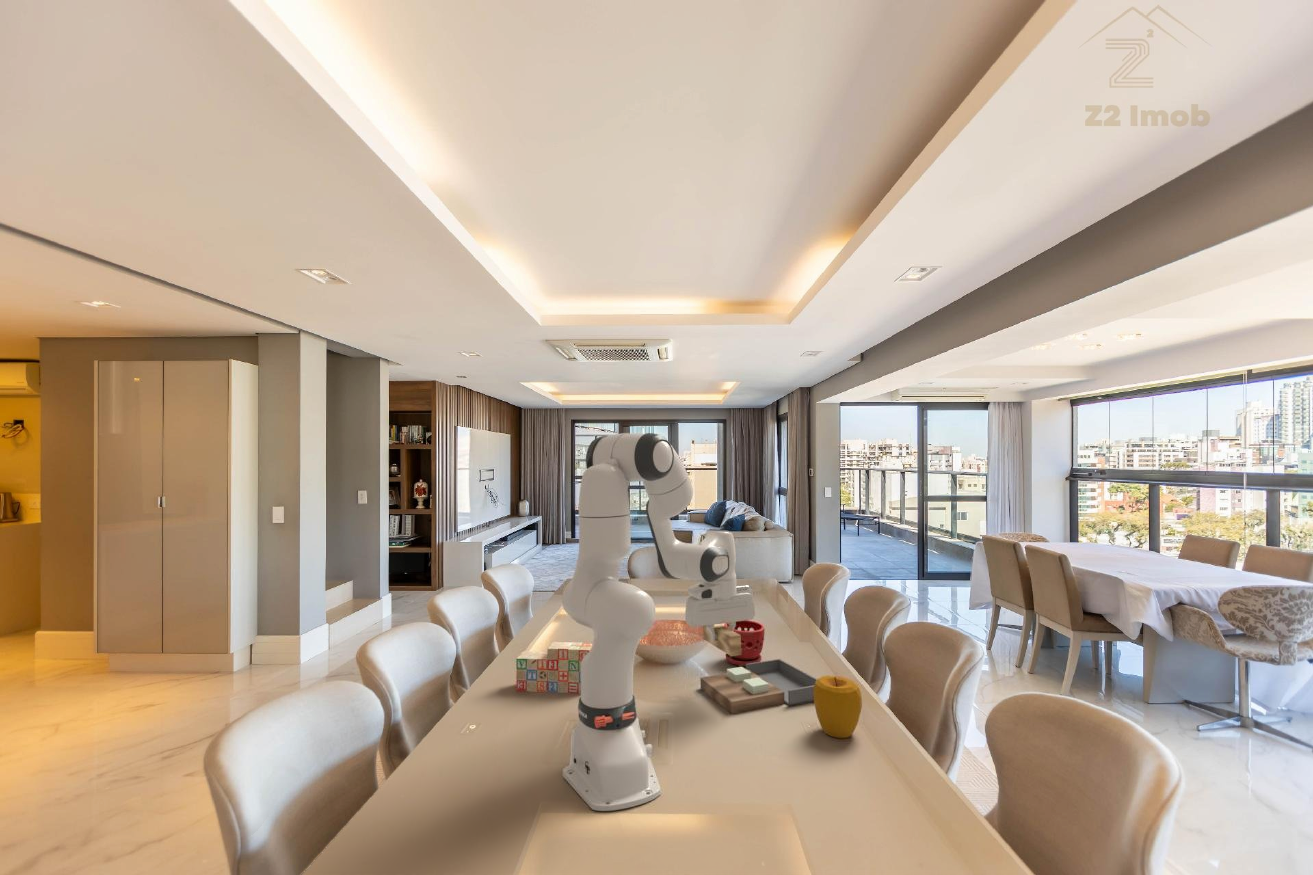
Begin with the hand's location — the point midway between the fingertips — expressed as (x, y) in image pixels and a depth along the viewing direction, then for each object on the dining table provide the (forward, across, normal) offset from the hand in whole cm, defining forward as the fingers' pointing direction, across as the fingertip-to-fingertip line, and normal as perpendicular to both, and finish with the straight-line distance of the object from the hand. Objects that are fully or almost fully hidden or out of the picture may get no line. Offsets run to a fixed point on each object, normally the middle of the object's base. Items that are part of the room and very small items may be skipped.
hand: (721, 639), depth 152 cm
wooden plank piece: (+2, 0, 0) cm, 2 cm away
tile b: (+13, -8, -4) cm, 16 cm away
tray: (+16, -20, 0) cm, 26 cm away
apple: (+16, -16, +28) cm, 36 cm away
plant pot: (+16, -21, -23) cm, 35 cm away
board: (+16, -6, 0) cm, 17 cm away
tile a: (+13, -8, +5) cm, 16 cm away
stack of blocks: (+16, +40, -26) cm, 51 cm away
